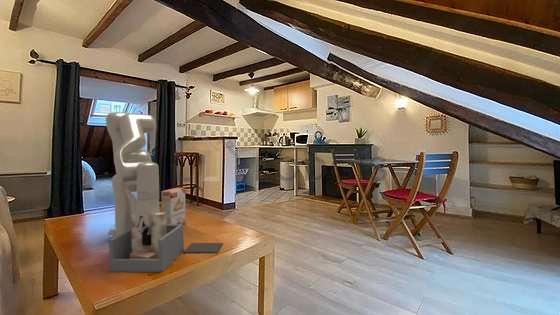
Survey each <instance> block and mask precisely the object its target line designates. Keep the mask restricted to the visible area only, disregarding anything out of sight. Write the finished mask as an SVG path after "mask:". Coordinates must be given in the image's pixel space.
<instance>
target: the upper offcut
mask: <svg viewBox="0 0 560 315" xmlns="http://www.w3.org/2000/svg"><path fill="white" fill-rule="evenodd" d="M129 255H130V259H157V256H156V253H150V252H144V251H136V252H133V253H131V254H129Z"/></svg>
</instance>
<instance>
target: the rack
mask: <svg viewBox="0 0 560 315" xmlns="http://www.w3.org/2000/svg"><path fill="white" fill-rule="evenodd" d="M112 238H113V237H112ZM112 238H110V239H109V240H108V245H109V246H108V247H109V250H108V251H109V252H108V253H109V254H108V255H109V272H110V271H112V273H114V272H115V273H117V272H118V273H119V272H120V273H129V272H130V273H137V272H138V273H140V272H141V273H143V272H144V273H145V272H148V273H149V272H152V273H155V272H156V273H160V272H161V273H162V272H164V271H165V269H167V268H168V267H169V265H171V264H172V263H173V262H174V261H175V260H176V259H177V258H178V257H179V256H180V255H181V254H182V253H183V251H184V250H185V248H184V246H185V244H184V241H185V240H184V225H167V234H166V235H165V236H163V237H162V238H161V239H159V240H158V251H159V259H130V255H129V254H131V253H132V239H131V229H130V230H128V231H126V232H124V233H122V234H120V235H118V236H117V237H115V238H113V239H112Z"/></svg>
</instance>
